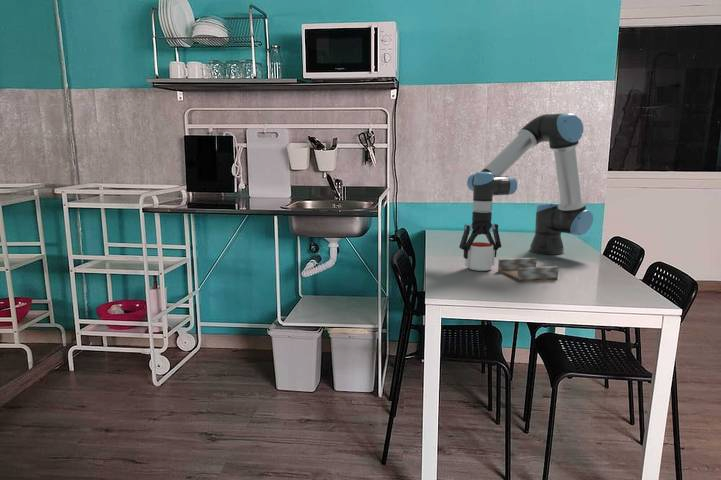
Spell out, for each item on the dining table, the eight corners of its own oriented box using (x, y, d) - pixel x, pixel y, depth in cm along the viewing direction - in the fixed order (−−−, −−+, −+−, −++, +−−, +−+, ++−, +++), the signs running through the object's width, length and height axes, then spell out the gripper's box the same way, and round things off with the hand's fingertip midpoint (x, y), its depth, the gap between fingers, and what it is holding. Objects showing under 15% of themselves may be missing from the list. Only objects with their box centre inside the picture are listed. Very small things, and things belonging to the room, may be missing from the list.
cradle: (533, 269, 218) (534, 257, 217) (557, 279, 202) (558, 267, 201) (497, 271, 214) (498, 259, 213) (519, 282, 199) (520, 268, 198)
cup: (493, 266, 221) (494, 243, 219) (490, 272, 211) (491, 247, 210) (468, 264, 224) (469, 241, 222) (465, 270, 215) (466, 245, 213)
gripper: (503, 209, 219) (500, 262, 224) (451, 210, 214) (449, 264, 218) (512, 211, 212) (509, 266, 216) (459, 213, 207) (457, 269, 211)
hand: (479, 265), depth 217 cm, fingers closed on cup, 10 cm apart
